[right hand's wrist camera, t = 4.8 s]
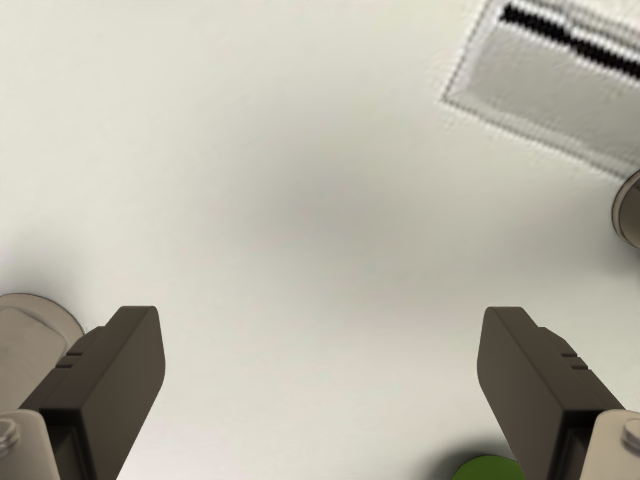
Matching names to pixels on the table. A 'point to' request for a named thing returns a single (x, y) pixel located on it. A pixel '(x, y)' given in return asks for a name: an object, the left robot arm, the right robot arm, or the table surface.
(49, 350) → the bust sculpture
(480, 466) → the vase
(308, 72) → the table surface
